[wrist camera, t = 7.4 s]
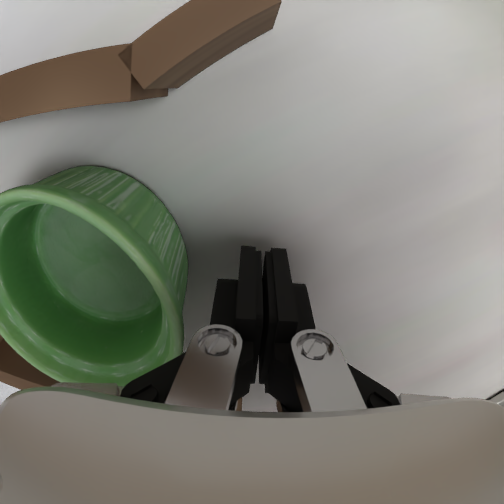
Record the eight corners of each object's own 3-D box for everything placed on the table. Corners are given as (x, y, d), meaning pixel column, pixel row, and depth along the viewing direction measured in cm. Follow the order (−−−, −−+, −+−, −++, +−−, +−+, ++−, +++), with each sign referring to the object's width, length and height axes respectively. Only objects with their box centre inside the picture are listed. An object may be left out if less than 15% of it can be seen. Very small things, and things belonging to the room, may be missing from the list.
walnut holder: (241, 400, 18) (240, 448, 15) (15, 358, 17) (-4, 391, 14) (274, 4, 8) (284, -31, 5) (-60, 78, 7) (-105, 91, 4)
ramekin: (91, 341, 15) (63, 401, 12) (0, 206, 11) (-58, 251, 7) (235, 303, 14) (230, 383, 10) (139, 109, 10) (75, 127, 6)
